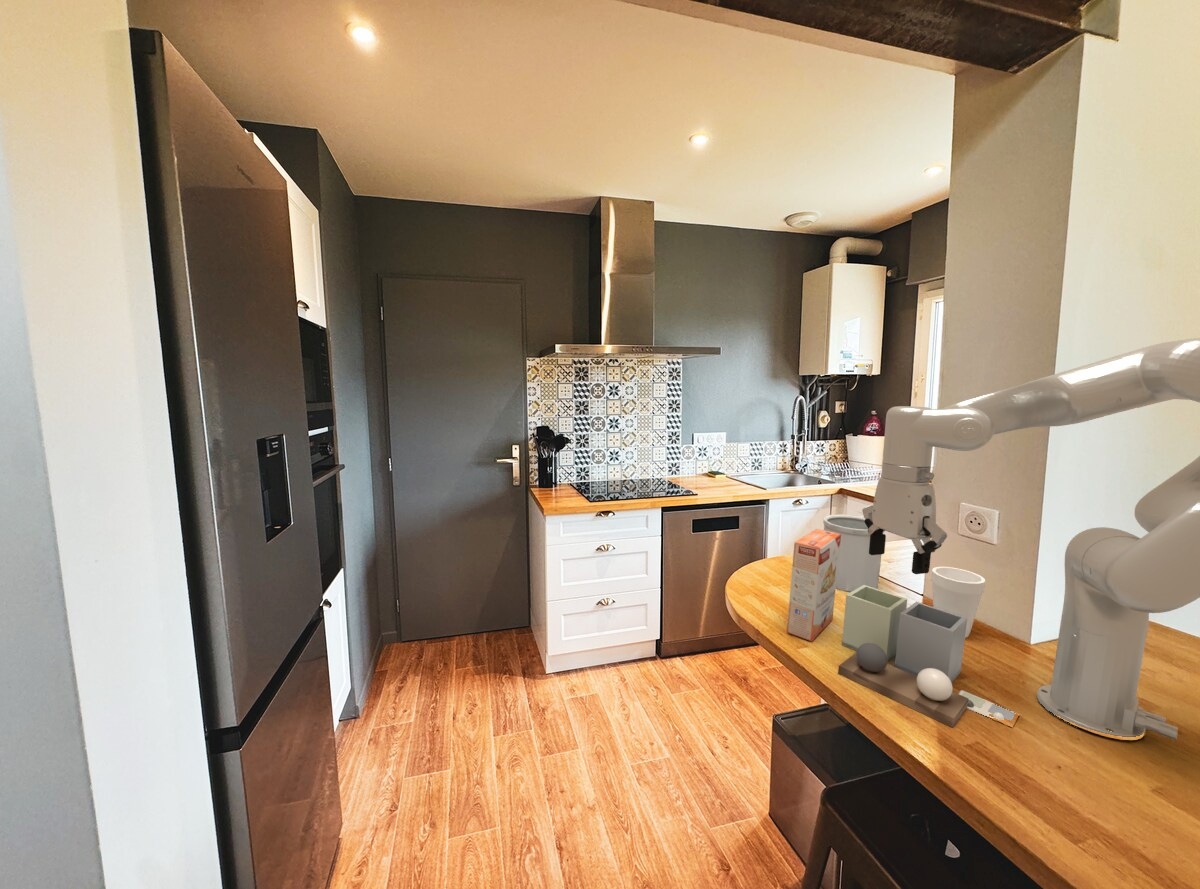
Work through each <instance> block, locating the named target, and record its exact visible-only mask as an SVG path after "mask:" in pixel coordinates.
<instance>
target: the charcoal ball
mask: <svg viewBox="0 0 1200 889" xmlns="http://www.w3.org/2000/svg"><path fill="white" fill-rule="evenodd" d="M855 653H856V657H857V661H858V663H859V664H860V665H861V667H863V668H864V669H865V670H867V671H869V672H880V671H882V670H883V669H884V668H885V667H886V665H887V664H888V662H887V656H886V654H885V652H884V651H883V649H882V648H880V647H879V646H878V645H876V644H873V643H865V644H862V645H861V646H860V647H859V648H858V649H857V651H855Z"/></svg>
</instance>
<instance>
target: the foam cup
mask: <svg viewBox="0 0 1200 889" xmlns="http://www.w3.org/2000/svg"><path fill="white" fill-rule="evenodd" d="M930 581H931V583H932V584H931V586H932V604H933V606H932V607H935V608H938V609H941V610H944V611H947V612H951V613H954V614H957V615H960V616H963V617H966V618H967V625H966V633H965V639H966V638H968V637H970V634H971V631H972V628H973V624H974V622H975V618H976V614H977V612H978V608H979V605H980V601H981V598H982V595H983V593H985V586H986V579H985V577H983V576H982V575H980V574H978V573H975V572H972V571H971V570H970V571H969V570H967V569H961V568H957V567H952V566H937V567H933V568H932V570H931V578H930Z"/></svg>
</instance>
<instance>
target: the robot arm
mask: <svg viewBox="0 0 1200 889" xmlns="http://www.w3.org/2000/svg"><path fill="white" fill-rule="evenodd" d="M1172 400H1183V401H1184V400H1186V401H1187V400H1188V401H1192V402H1193V401H1194V402H1196V403H1200V337H1194V338H1187V339H1180V340H1179V339H1178V340H1173V341H1166V342H1160V343H1155V344H1153V345H1149V346H1145V347H1141V348H1138V349H1136V350H1135V349H1134V350H1132V351H1128V352H1125V353H1122V354H1118V355H1114V356H1111V357H1108V358H1105V359H1102V360H1098V361H1095V362H1092V363H1089V364H1085V365H1082V366H1078V367H1075V368H1072V369H1067V370H1064V371H1060V372H1057V373H1055V374H1052V375H1048V376H1044V377H1040V378H1038V379H1035V380H1031V381H1028V382H1025V383H1022V384H1019V385H1016V386H1013V387H1008V388H1005V389H1002V390H998V391H994V392H990V393H987V394H983V395H980V396H977V397H974V398H969V399H966V400H963V401H960V402H957V403H953V404H950V405H947V406H945V407H943V408H940V409H938V408H937V409H936V408H935V409H934V408H933V409H932V408H930V407H926V406H911V405H910V406H908V405H907V406H905V405H904V406H902V405H899V406H892V407H891V408H889V409H888V411H887V412H886V417H885V424H884V426H885V427H884V428H885V429H884V439H883V450H882V451H883V452H882V464H881V465H882V466H881V472H880V473H881V474H880V477H879V478H878V481H877V485H876V488H875V491H874V492H875V493H874V497H873V503H872V505H870V506H867V507H864V508H863V509H862V510H861V511H862V515H863V517H864V518H865V524H866V526H867V527H868V533H869V534H871V535H870V544H869V554H870V555H881V556H882V555H884V554H885V550H886V540H887V536H886V534H885V533H884V532H888V533H891V534H894V535H897V536H899V537H902V538H906V539H909V540H910V541H911V542H912V544H913V546H914V548H915V549H916V551H913V553H912V562H911V563H912V564H911V572H912V574H914V575H922V574H923V575H924V574H929V572H930V568H931V566H930V565H931V558H932V557H931V555H932V553H935V552H936V551H937V550H938V549H940V548H941V547H942V545H943V543H944V542H945V540H946V539H947V538H948V534H947V532H946V531H945V530H944V529H942V528H941V527H940V526H939V525H938V524H937V501H936V493H935V487H934V485H933V484H930V481H933V479H934V478H935V474H934V473H933V472H931V467H932V456H933V448H941V449H946V450H952V451H959V452H972V451H975V450H978V449H981V448H983V447H985V446H986V445H988V443H989V442H990V441H991V440H992V438H993V437H994V435H999V434H1002V433H1007V432H1011V431H1016V430H1022V429H1029V428H1031V429H1032V428H1042V427H1043V428H1044V427H1049V428H1050V427H1064V426H1069V425H1077V424H1081V423H1085V422H1089V421H1092V420H1096V419H1100V418H1103V417H1106V416H1111V415H1115V414H1117V413H1121V412H1122V413H1123V412H1125V411H1130V410H1134V409H1139V408H1140V409H1141V408H1143V407H1147V406H1151V405H1155V404H1159V403H1162V402H1166V401H1172ZM1134 517H1135V520H1136V522H1137V523H1138V525H1139V526H1140V527H1141V528H1143V529H1144V531H1146V532H1147V533H1146V534H1145V535H1143V536H1142V537H1139V536H1137V535H1135V534H1133V533H1130V532H1128V531H1125V530H1123V529H1118V528H1112V527H1106V526H1105V527H1101V526H1100V527H1092V528H1088V529H1085V530H1082V531H1080V532H1079V533H1077V534H1076V535H1074V537H1072V538H1071V540H1070V541H1069V542H1068V544H1067V546H1066V549H1065V552H1064V553H1065V554H1064V594H1063V596H1064V597H1063V606H1062V610H1061V611H1062V612H1061V617H1060V618H1061V619H1060V624H1059V630H1058V636H1057V638H1058V639H1057V644H1056V652H1055V659H1054V664H1053V671H1052V676H1051V677H1052V678H1051V679H1052V680H1051V684H1046V685H1042V686H1040V687H1039V688H1038V689H1037V693H1036V694H1037V695H1036V698H1037V700H1038V702H1039V703H1040V705H1041V704H1042V705H1043V706H1044V707H1045V708H1044V707H1043V706H1042V705H1041V706H1042V707H1043V708H1044V709H1046V710H1047V711H1048V712H1049V711H1050V712H1052V713H1053V714H1055V715H1057V716H1060V717H1061V718H1063V719H1065V720H1067V721H1069V722H1072V723H1075V724H1076V725H1078V726H1081V727H1084V728H1087V729H1090V730H1094V731H1097V732H1101V733H1105V734H1110V735H1114V736H1122V737H1136V736H1140V735H1142V734H1143V733H1145V734H1146V731H1147V730H1149V731H1151V732H1154V733H1157V734H1158V735H1160V736H1162V737H1166V738H1168V739H1171V740H1174V741H1177V737H1178V730H1179V728H1178V727H1177V726H1175V725H1172V724H1170V723H1166V722H1167V718H1166V717H1165V716H1162V715H1159V714H1156V713H1152V712H1149V711H1146V710H1144V708H1143V707H1141V706H1139V700H1140V698H1139V697H1137V693H1138V687H1139V681H1140V676H1141V670H1142V664H1143V658H1144V652H1145V648H1146V647H1145V646H1146V641H1147V637H1148V631H1149V623H1150V622H1149V621H1150V614H1162V613H1166V612H1167V613H1168V612H1171V611H1172V612H1173V611H1175V610H1178V609H1180V608H1183V607H1184V606H1186V605H1189V604H1191V603H1193V602H1195V601H1196V600H1198V599H1199V598H1200V455H1199V456H1198V457H1197V458H1195V459H1194V460H1193V461H1192V462H1190V463H1189V464H1187V465H1185V466H1184V467H1183V468H1181V469H1180V470H1179V471H1177V472H1176V473H1174V474H1173V475H1172V476H1169V478H1167V479H1166V480H1164V481H1163V482H1162V483H1160V484H1159V485H1157V486H1156V487H1155V488H1152V490H1150V491H1148V492H1147V493H1146V494H1145V495H1143V496H1142V497H1141V498H1140V499H1139V500H1138V502H1137V503H1136V505H1135V506H1134ZM882 533H883V534H882ZM1050 712H1049V713H1050ZM1052 713H1051V714H1052ZM1053 714H1052V715H1053ZM1055 715H1054V716H1055ZM1108 730H1109V731H1108ZM1145 730H1146V731H1145ZM1110 731H1112V732H1110Z"/></svg>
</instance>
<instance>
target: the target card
mask: <svg viewBox="0 0 1200 889" xmlns="http://www.w3.org/2000/svg"><path fill="white" fill-rule="evenodd" d="M958 694H959V695H962V696H964V697H966V698H969V700H968V706H967V709H966V710H969V711H972V712H974V713H976V712H977V713H976V714H978V713H979V714H978V715H980V714H982V715H981V716H983V715H984V717H985V716H987V717H990V718H996V719H998V720H1004V718H1005V719H1007V720H1010V721H1011V720H1012V719H1013V717H1014V715H1015V714H1016V713H1017V712H1016V713H1014V712H1015V711H1013V710H1011V711H1009V710H1010V709H1008V708H1006V709H1004V708H1005V707H1004V708H1002V707H1003V706H1001V705H999V706H997V705H998V704H996V703H993V702H992V701H989V700H987V699H984V698H982V697H980V696H977V695H975V694H973V693H970V692H967V691H966V690H964V689H963V690H962V689H961V690H960V691H959V692H958ZM995 704H996V705H995ZM1000 706H1001V707H1000ZM1007 709H1008V710H1007ZM989 714H993V716H994V717H991V716H989ZM987 717H986V718H987ZM990 718H989V719H990Z"/></svg>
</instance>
